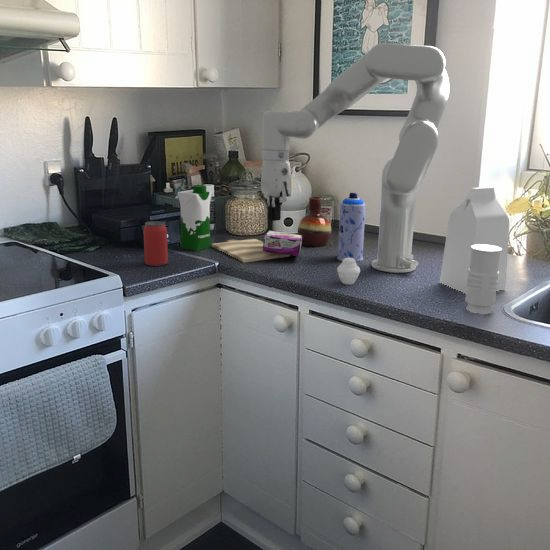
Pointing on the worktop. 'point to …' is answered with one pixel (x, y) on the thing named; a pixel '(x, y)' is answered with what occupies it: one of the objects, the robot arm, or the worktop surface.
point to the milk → (474, 237)
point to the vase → (314, 225)
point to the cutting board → (246, 250)
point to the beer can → (155, 243)
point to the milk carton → (195, 218)
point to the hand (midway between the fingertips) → (274, 219)
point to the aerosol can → (351, 228)
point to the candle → (482, 278)
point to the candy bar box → (282, 243)
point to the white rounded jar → (348, 271)
